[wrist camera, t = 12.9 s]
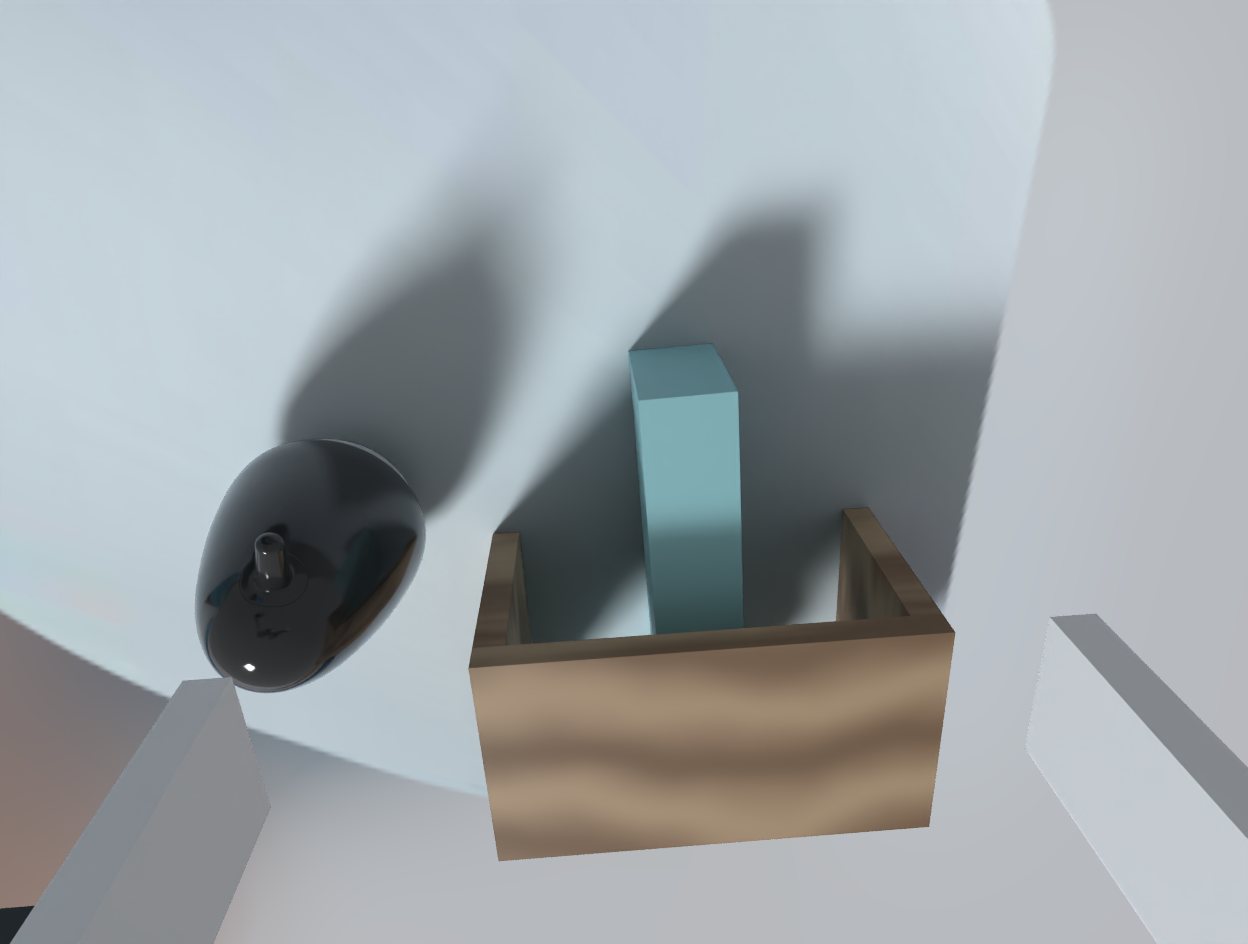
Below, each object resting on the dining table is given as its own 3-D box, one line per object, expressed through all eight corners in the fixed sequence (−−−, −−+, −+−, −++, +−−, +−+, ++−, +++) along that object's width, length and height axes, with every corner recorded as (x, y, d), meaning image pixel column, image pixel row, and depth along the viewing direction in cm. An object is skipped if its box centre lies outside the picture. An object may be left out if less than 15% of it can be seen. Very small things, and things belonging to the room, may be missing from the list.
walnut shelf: (493, 533, 49) (468, 668, 38) (868, 507, 50) (955, 632, 39) (514, 698, 54) (498, 861, 43) (855, 673, 55) (928, 826, 44)
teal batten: (628, 349, 45) (638, 400, 38) (711, 342, 45) (738, 391, 38) (655, 693, 55) (667, 785, 48) (724, 686, 55) (747, 777, 48)
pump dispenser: (448, 429, 47) (396, 575, 33) (423, 589, 51) (367, 778, 37) (256, 392, 45) (116, 529, 31) (245, 559, 49) (118, 745, 35)
